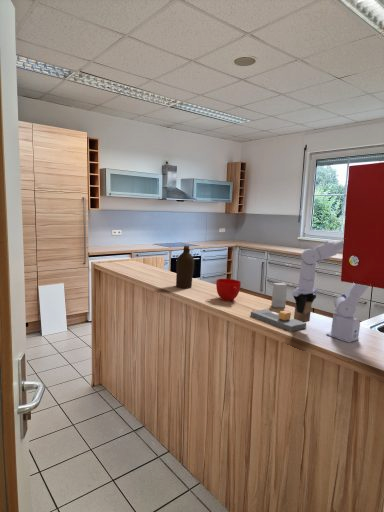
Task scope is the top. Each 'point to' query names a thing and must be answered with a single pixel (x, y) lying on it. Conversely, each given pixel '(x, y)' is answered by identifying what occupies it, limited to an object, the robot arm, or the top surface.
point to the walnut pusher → (306, 312)
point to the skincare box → (279, 295)
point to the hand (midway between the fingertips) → (302, 311)
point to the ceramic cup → (228, 288)
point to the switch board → (278, 320)
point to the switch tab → (284, 315)
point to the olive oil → (184, 269)
